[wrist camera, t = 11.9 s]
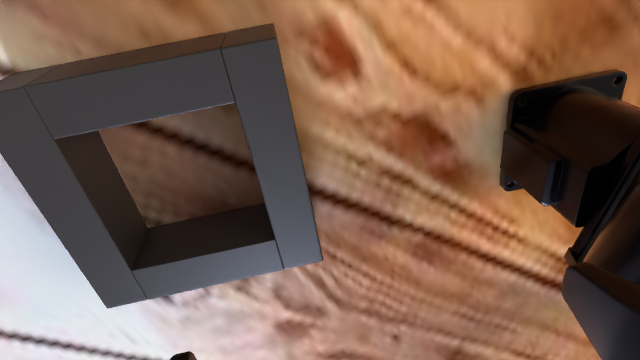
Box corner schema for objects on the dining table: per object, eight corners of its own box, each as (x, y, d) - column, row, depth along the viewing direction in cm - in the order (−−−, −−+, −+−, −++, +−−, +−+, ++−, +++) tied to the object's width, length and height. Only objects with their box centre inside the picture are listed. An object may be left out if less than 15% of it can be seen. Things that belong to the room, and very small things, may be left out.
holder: (273, 22, 17) (276, 36, 14) (315, 222, 24) (323, 261, 21) (13, 73, 17) (-38, 98, 14) (126, 263, 23) (107, 309, 20)
